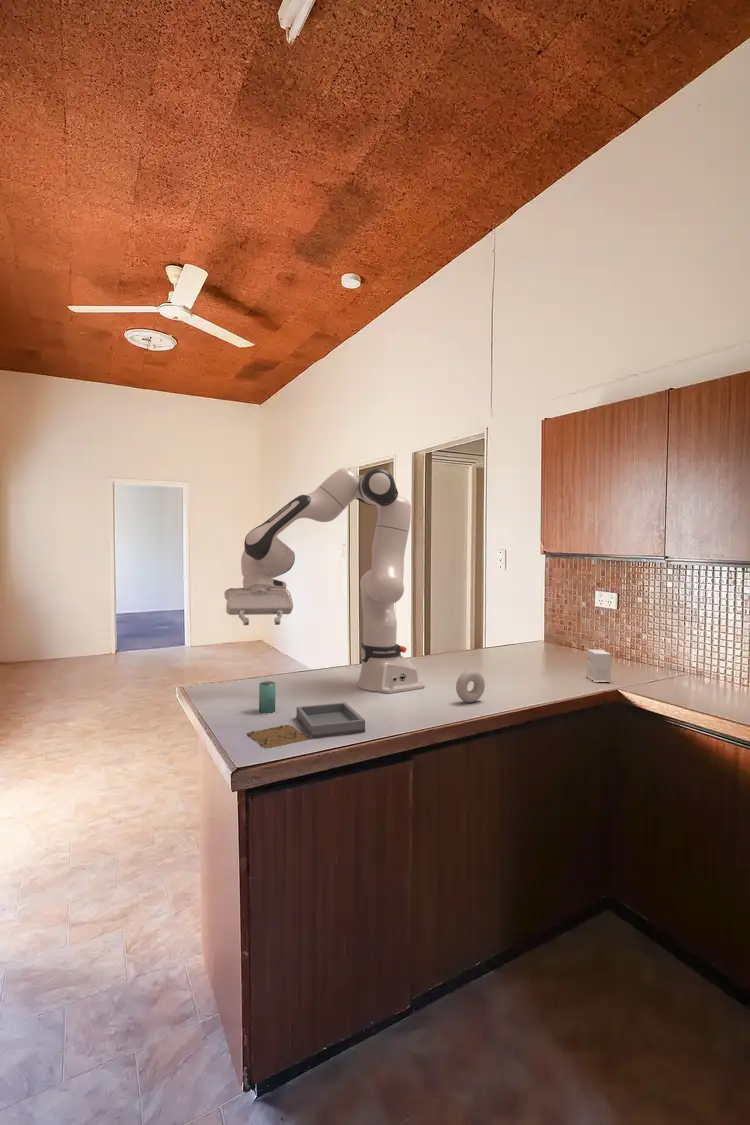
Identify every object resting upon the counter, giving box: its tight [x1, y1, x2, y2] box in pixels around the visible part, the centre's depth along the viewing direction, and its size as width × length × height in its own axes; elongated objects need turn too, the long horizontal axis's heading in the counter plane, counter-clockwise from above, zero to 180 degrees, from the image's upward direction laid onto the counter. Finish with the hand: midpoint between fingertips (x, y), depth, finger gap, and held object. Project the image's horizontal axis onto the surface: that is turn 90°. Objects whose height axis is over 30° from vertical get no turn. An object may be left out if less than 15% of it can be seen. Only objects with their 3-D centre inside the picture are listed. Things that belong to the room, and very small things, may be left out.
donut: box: [455, 669, 486, 703], centre depth 165 cm, size 10×3×10 cm, turn 116°
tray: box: [295, 701, 366, 739], centre depth 143 cm, size 14×16×3 cm
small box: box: [586, 648, 612, 682], centre depth 195 cm, size 8×6×10 cm
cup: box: [258, 680, 276, 715], centre depth 153 cm, size 4×4×8 cm
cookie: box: [245, 724, 310, 750], centre depth 134 cm, size 12×12×1 cm
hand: (262, 624), depth 163 cm, fingers open, 8 cm apart
